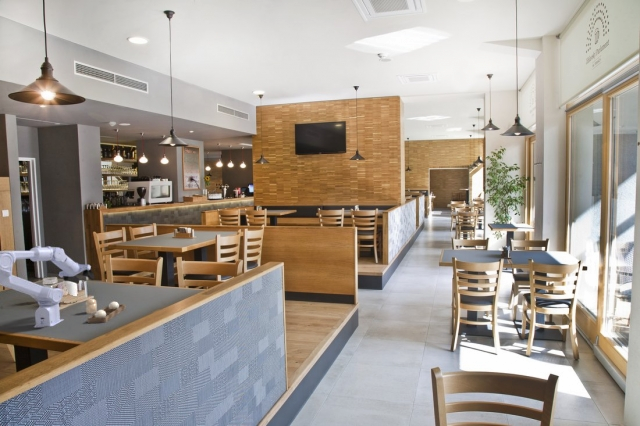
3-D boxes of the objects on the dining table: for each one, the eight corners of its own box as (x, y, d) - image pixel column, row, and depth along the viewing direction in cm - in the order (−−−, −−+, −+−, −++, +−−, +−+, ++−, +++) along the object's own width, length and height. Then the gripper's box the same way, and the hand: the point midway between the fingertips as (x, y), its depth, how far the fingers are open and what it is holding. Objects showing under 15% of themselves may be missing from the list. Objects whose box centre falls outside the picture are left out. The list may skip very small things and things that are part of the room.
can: (71, 304, 223) (70, 280, 223) (60, 303, 225) (59, 280, 224) (80, 300, 230) (79, 278, 229) (70, 300, 231) (68, 277, 230)
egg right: (116, 312, 205) (116, 302, 205) (107, 312, 205) (106, 303, 204) (120, 309, 209) (120, 300, 209) (111, 309, 209) (110, 300, 209)
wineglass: (56, 298, 235) (54, 276, 235) (61, 300, 231) (59, 277, 230) (41, 301, 230) (40, 278, 229) (46, 303, 226) (45, 280, 225)
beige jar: (94, 314, 204) (93, 299, 203) (84, 315, 204) (83, 300, 203) (98, 312, 208) (97, 297, 208) (89, 312, 208) (88, 297, 208)
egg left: (103, 321, 191) (103, 311, 191) (93, 321, 191) (92, 311, 191) (108, 318, 196) (107, 308, 195) (98, 318, 196) (97, 308, 195)
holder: (105, 323, 190) (105, 317, 190) (87, 324, 190) (87, 318, 189) (125, 309, 211) (125, 304, 211) (109, 310, 211) (109, 304, 211)
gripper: (83, 253, 202) (101, 269, 212) (54, 261, 203) (73, 276, 213) (80, 266, 197) (98, 281, 208) (50, 274, 198) (70, 289, 209)
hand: (85, 279), depth 210 cm, fingers open, 7 cm apart
